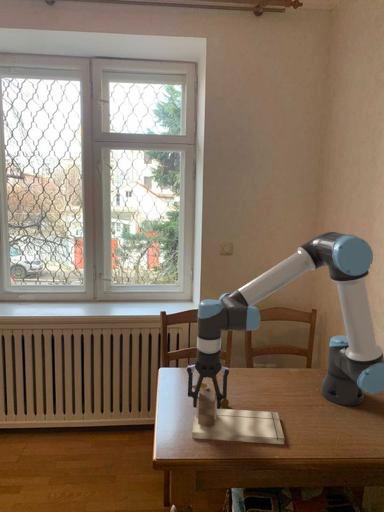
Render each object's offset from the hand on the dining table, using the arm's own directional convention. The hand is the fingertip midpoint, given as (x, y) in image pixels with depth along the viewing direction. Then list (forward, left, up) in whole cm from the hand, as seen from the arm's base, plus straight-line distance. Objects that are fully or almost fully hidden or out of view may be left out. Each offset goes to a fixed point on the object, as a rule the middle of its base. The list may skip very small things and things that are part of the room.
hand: (206, 416), depth 124 cm
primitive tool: (-1, -19, -4) cm, 19 cm away
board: (-10, 0, -3) cm, 10 cm away
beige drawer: (0, 0, 0) cm, 0 cm away
